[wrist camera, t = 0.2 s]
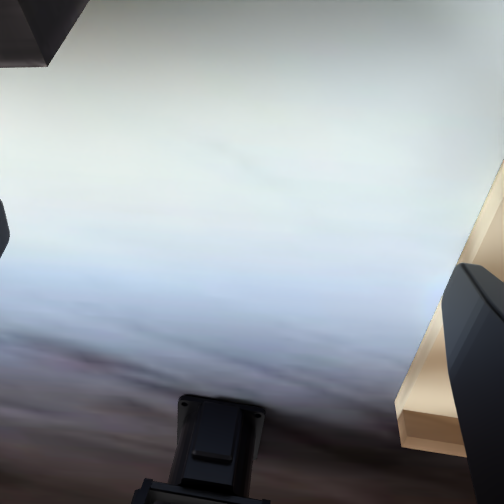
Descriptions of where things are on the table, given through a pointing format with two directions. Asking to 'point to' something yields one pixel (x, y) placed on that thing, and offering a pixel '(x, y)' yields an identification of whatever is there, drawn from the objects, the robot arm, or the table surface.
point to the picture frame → (35, 30)
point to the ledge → (433, 347)
